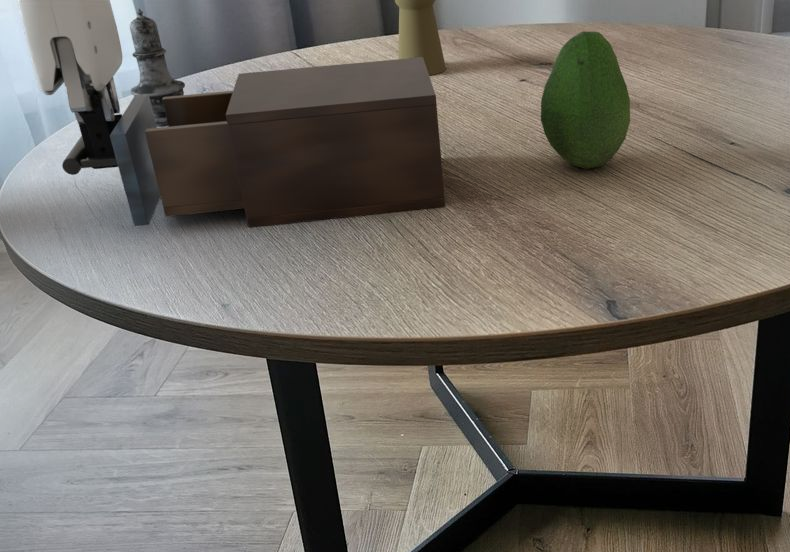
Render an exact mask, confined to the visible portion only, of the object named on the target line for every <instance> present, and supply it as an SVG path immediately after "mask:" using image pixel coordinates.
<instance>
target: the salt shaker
mask: <svg viewBox="0 0 790 552" xmlns="http://www.w3.org/2000/svg"><path fill="white" fill-rule="evenodd" d="M136 11H137V12H136V14H137V16H136V18H135V19H133V20H132V21H131V22H130V23H129V32H130V35H131V40H132V43H133V49H134V52H132V57H133V58H135V59H136V63H137V67H138V70H139V82H138V84H137V85H135V86H134V87H132V88H131V89H130V91H129V93H130V94H131V96H133V97H134V96H135V95H143V94H149V98H150V102H151V106H152V110H153V114H154V118H155V122H156V127H168V123H167V119H166V114H165V110H164V106H163V102H162V99H163V97H170V96H180V95H185V91H184V89H185V87H186V83H185V82H184V81H182V80H178V79H175V78H173V77H172V75H171V73H170V71H169V70H168V69H169V68H168V66H167V60H166V56H165V55H166V53H167V49H166V48H163V46H162V42H161V38H160V34H159V30H158V25H157V23H156V21H155V20H154V19H152V18H151V17H147V16H145V15H144V11H142V9H141V8H137V10H136Z"/></svg>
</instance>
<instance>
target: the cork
mask: <svg viewBox="0 0 790 552" xmlns="http://www.w3.org/2000/svg"><path fill="white" fill-rule="evenodd" d="M394 2H395V4H396V6H397V7H398V8H399V9H398V10H399V11H398V12H399V13H398V56H397V59H407V58H418V57H423V59H424V62H425V65H426V68H427V71H428V74H429V77H431V76H434V75H438V74H442V73H443V72H445V71H446V70H447V67H446V62H445V57H444V53H443V52H444V51H443V47H442V43H441V38H440V34H439V29H438V24H437V19H436V13H435V9H434V4H435V2H436V0H394Z"/></svg>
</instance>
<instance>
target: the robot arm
mask: <svg viewBox="0 0 790 552" xmlns="http://www.w3.org/2000/svg"><path fill="white" fill-rule="evenodd" d="M16 3H17V6H18V12H19V16H20V20H21V25H22V29H23V33H24V36H25V41H26V45H27V49H28V53H29V57H30V60H31V65H32V69H33V73H34V77H35V80H36V85H37V88H38V89H39V91H40V92H41V93H42V94H44V95H46V96H52V95H54V94H55V93H56V92H57V91H58V90H59V89H60V88H61V86H62V85H64V87H65V93H66V97H67V102H68V107H69V110H70V112H71V113H74V115H75V118H76V122H77V124H78V127H79V131H80V134H81V136H82V138H83V142H84V145H85V149H86V152H87V156H88V159H91V158H101V157H112V156H115V153H114V149H113V145H112V141H111V138H110V134H111V133H112V131H113V130H114V128H115V126H116V125H117V123H118V122H119V120H120V118H121V117H122V115H123V114H122V113H121V106H120V101H119V97H118V93H117V88H116V84H115V79H114V76H115V75H116V73H117V72H118V70H119V69H120V68H121V66H122V64H123V50H122V45H121V39H120V35H119V31H118V26H117V22H116V19H115V15H114V11H113V7H112V4H111V0H16ZM91 168H92V170H93V169H94V170H99V169H100V170H101V169H111V168H112V169H113V168H119V167H118V165H110V166H100V167H91Z"/></svg>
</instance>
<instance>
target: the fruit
mask: <svg viewBox="0 0 790 552" xmlns="http://www.w3.org/2000/svg"><path fill="white" fill-rule="evenodd" d="M630 98H631V97H630V94H629V91H628V86H627V83H626V81H625V78H624V75H623V73H622V71H621V67H620V64H619V62H618V58H617V56H616V53H615V51H614V49H613V46H612V44H611V43H610V41H608V40H607V39H606V38H605V36H604V35H602V33H600V32H599V31H585V30H583V31H579V32H578V33H577V34H576V35H574V36H572V37H570V38H569V39H568V40H567V42H565V44H564V45H562V47H561V49H560V51H559V53H558V55H557V57H556V58H555V60H554V64H553V67H552V70H551V72H550V74H549V76H548V79H547V81H546V82H545V84H544V88H543V92H542V96H541V99H540V104H541V105H540V121H541V126H542V129H543V133H544V135H545V138H546V139H547V142H548V143H549V145H550V147H551V148H552V149H553V150H554V151H555V152H556V153H557V154H558V155H559V156H560V157H561V158H562V159H563V160H564V161H567V162H568V163H569V164H571V165H572V166H574V167H579V168H582V169H586V170H588V169H594V168H595V169H596V168H599V167H600V168H601V167H602V166H604V165H605V164H607V163H608V162H609V161H611V160H612V159H613V158H614V157H615V155H616V153H617V152H618V151H619V150H620V148H621V147H622V145H623V144H624V142H625V140H626V137H627V134H628V131H629V127H630V123H631V99H630Z"/></svg>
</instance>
